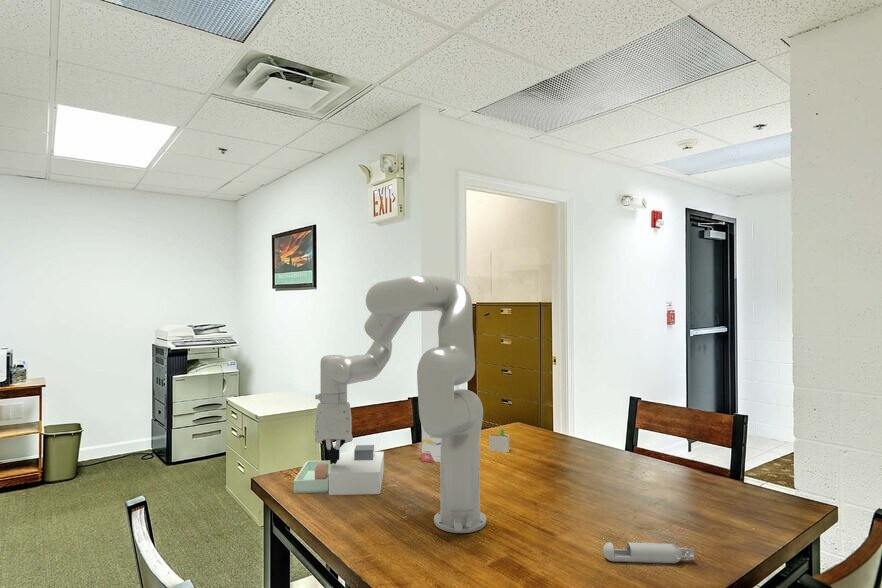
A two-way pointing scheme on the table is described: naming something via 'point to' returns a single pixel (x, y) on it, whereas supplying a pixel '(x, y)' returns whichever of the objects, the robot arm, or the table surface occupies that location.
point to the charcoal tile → (364, 452)
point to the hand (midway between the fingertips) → (333, 462)
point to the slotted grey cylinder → (647, 553)
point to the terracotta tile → (321, 471)
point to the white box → (356, 475)
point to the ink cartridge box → (430, 448)
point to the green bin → (311, 479)
